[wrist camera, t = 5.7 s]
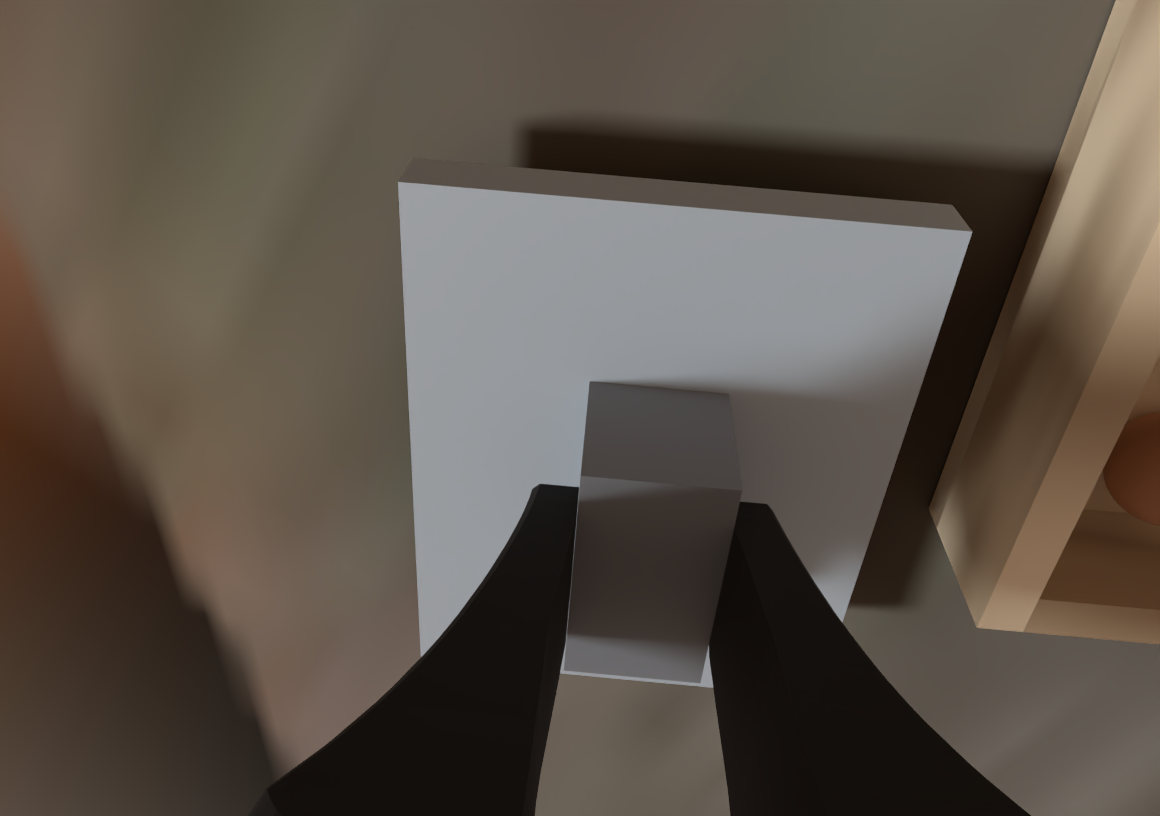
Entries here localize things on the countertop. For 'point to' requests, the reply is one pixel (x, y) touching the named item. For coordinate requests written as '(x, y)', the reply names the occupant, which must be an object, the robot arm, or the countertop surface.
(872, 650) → the countertop surface
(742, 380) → the lid
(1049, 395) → the box
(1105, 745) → the countertop surface
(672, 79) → the countertop surface
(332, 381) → the countertop surface
